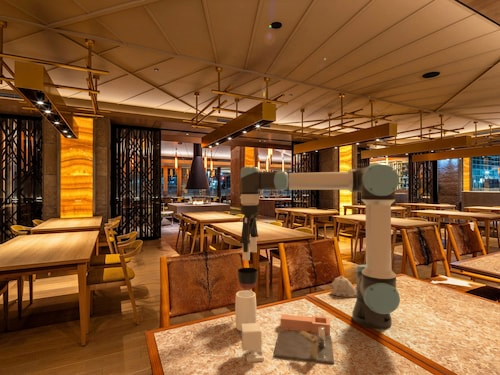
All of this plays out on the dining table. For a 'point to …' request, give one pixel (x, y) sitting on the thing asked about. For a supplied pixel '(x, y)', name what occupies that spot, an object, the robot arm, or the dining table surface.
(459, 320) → the dining table surface
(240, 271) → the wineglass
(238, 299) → the cup
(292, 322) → the link
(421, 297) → the dining table surface
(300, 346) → the base
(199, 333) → the dining table surface
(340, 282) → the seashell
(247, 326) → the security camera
